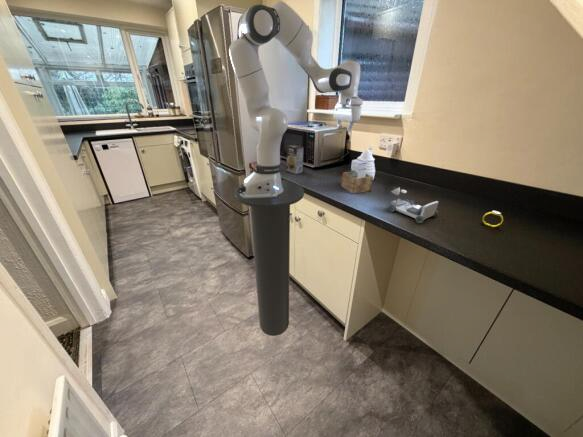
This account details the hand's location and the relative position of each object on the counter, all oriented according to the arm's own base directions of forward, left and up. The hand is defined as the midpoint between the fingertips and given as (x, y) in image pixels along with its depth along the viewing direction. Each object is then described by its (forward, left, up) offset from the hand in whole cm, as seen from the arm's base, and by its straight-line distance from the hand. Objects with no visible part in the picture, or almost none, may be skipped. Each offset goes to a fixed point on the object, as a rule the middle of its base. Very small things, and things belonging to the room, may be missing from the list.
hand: (344, 130), depth 120 cm
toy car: (+10, -43, -29) cm, 53 cm away
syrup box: (+4, -12, -28) cm, 30 cm away
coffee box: (-17, +28, -29) cm, 43 cm away
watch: (+32, -62, -29) cm, 76 cm away
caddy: (+4, -11, -28) cm, 31 cm away
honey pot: (+19, +4, -29) cm, 35 cm away
